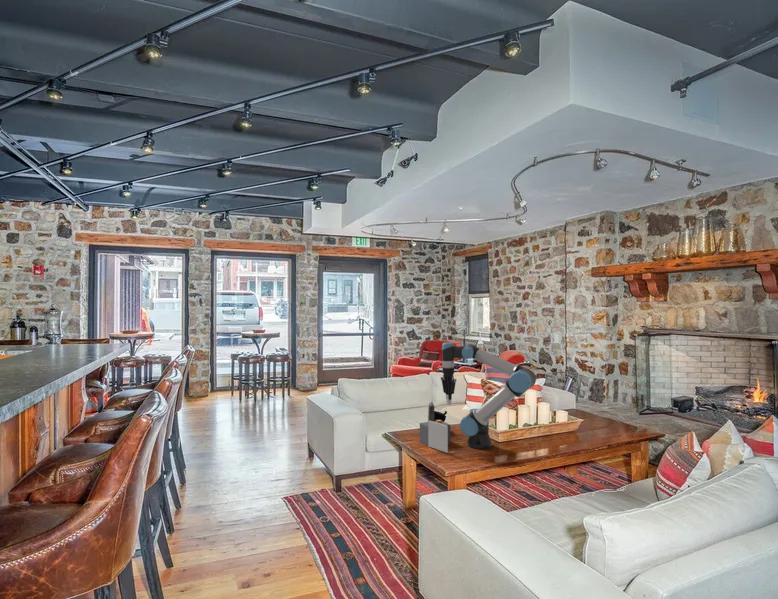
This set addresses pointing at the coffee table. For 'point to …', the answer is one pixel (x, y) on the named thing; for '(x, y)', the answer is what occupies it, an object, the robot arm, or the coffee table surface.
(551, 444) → the coffee table surface
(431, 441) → the grey square panel
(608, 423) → the coffee table surface
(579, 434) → the coffee table surface
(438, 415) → the vintage camera
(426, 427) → the grey box
